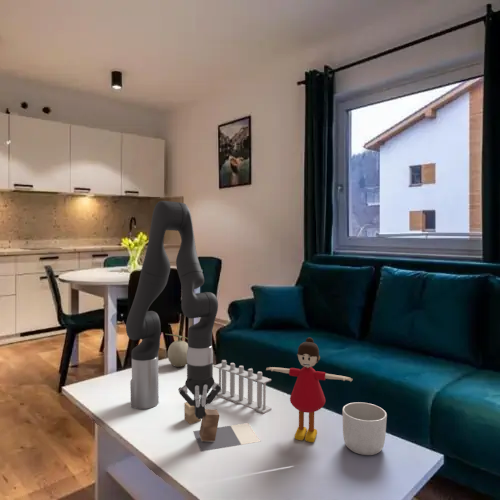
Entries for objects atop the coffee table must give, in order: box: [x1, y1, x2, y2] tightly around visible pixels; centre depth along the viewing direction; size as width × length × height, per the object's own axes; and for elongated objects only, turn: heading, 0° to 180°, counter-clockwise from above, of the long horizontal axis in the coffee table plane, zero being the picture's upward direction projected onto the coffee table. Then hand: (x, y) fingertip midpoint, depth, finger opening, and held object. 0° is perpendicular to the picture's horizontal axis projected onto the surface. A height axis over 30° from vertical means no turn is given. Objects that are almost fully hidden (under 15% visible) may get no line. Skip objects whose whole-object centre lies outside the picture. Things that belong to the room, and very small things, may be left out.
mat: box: [193, 422, 261, 452], centre depth 128 cm, size 18×12×1 cm, turn 108°
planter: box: [342, 401, 388, 456], centre depth 122 cm, size 12×12×11 cm
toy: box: [265, 336, 353, 443], centre depth 129 cm, size 27×11×30 cm, turn 70°
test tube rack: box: [213, 359, 272, 415], centre depth 153 cm, size 25×4×13 cm, turn 48°
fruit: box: [165, 333, 188, 368], centre depth 191 cm, size 10×12×15 cm
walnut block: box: [199, 408, 220, 442], centre depth 126 cm, size 4×4×8 cm
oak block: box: [183, 401, 202, 425], centre depth 138 cm, size 4×4×6 cm
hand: (199, 417), depth 125 cm, fingers closed
